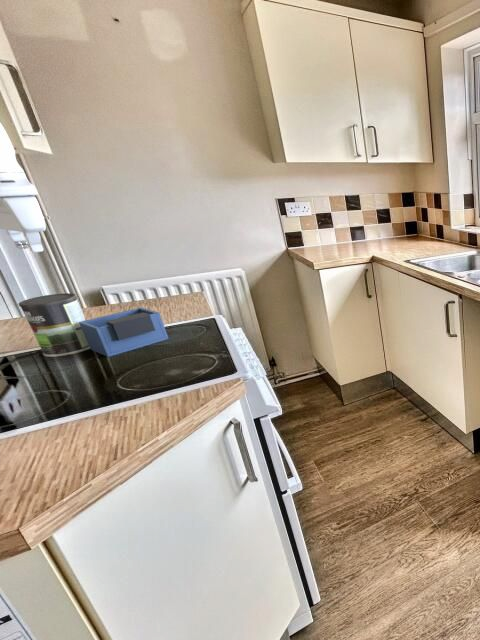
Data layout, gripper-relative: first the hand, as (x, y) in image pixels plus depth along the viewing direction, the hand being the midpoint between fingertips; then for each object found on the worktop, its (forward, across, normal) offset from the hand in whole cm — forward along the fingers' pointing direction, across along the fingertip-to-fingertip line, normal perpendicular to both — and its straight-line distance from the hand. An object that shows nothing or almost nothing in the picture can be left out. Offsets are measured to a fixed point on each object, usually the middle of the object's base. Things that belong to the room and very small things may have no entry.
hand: (30, 250), depth 98 cm
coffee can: (+27, -7, +1) cm, 28 cm away
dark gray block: (+23, +8, +10) cm, 27 cm away
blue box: (+27, +3, +10) cm, 29 cm away
